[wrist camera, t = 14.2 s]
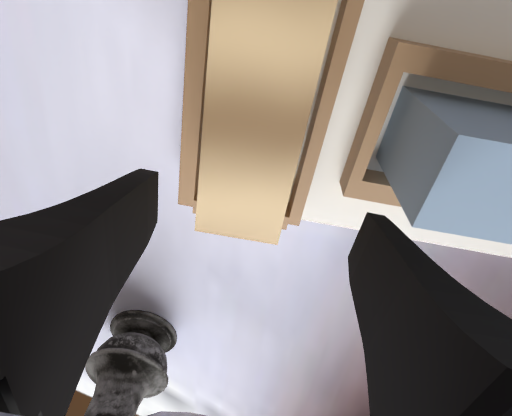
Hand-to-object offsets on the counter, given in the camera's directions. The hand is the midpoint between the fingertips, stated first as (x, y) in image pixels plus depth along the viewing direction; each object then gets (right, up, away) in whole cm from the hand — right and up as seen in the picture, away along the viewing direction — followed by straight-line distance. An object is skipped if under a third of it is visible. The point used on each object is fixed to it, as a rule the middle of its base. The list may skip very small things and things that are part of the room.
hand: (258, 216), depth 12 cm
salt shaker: (-9, -10, +16) cm, 20 cm away
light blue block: (+10, +4, +5) cm, 12 cm away
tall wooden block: (0, +5, +4) cm, 7 cm away
